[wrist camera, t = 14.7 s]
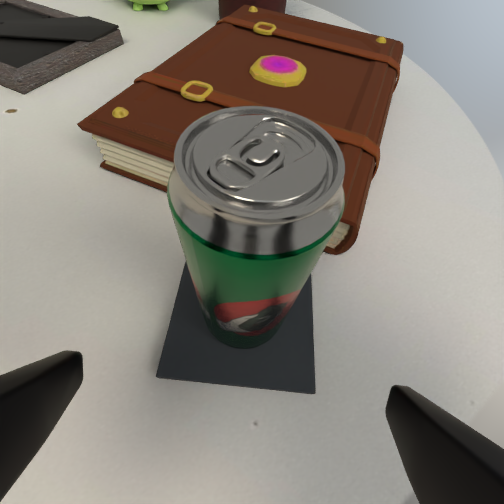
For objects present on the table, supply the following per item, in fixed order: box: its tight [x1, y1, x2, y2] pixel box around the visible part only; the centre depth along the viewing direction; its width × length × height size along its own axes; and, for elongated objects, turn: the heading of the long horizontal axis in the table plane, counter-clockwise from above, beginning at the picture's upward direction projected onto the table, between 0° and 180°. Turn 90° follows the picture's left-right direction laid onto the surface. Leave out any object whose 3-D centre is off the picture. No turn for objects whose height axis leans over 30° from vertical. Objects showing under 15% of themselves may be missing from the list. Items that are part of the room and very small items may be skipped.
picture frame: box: [0, 0, 124, 94], centre depth 33 cm, size 16×2×21 cm
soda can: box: [167, 106, 345, 349], centre depth 12 cm, size 5×5×12 cm
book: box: [77, 5, 403, 255], centre depth 27 cm, size 23×32×5 cm
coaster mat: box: [156, 262, 315, 394], centre depth 17 cm, size 9×9×1 cm
